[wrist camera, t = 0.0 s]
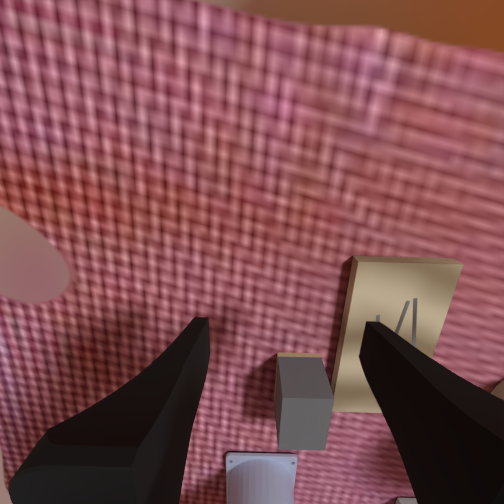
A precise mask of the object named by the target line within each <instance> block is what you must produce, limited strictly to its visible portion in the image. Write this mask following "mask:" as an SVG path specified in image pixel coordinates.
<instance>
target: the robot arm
mask: <svg viewBox="0 0 504 504" xmlns="http://www.w3.org/2000/svg"><path fill="white" fill-rule="evenodd" d="M209 356H210V343H209V321H208V318H206V317H195V318H194V319H193V320H192V321H191V322H190V323H189V324H188V326H187V327H186V328H185V329H184V330H183V332H182V333H181V334H180V335H179V336H178V337H177V338H176V339H175V341H174V342H173V343H172V344H171V345H170V346H169V347H168V348H167V349H166V350H165V351H164V352H163V353H162V354H161V355H160V356H159V357H158V358H157V359H156V360H155V361H154V362H152V363H151V364H150V365H149V366H148V367H147V368H146V369H145V370H143V371H142V372H141V373H140V374H138V375H137V376H136V377H135V378H133V379H132V380H131V381H129V382H128V383H126V384H125V385H124V386H122V387H121V388H119V389H118V390H116V391H115V392H114V393H112V394H111V395H109V396H107V397H106V398H104V399H103V400H101V401H99V402H98V403H96V404H94V405H93V406H91V407H89V408H88V409H86V410H84V411H82V412H81V413H79V414H77V415H75V416H73V417H71V418H69V419H67V420H65V421H63V422H61V423H59V424H58V425H56V426H54V427H51V428H49V429H48V430H47V432H46V433H45V434H44V435H43V437H42V438H41V439H40V440H39V441H38V443H37V444H36V446H35V447H34V448H33V450H32V451H31V453H30V454H29V455H28V457H27V458H26V460H25V461H24V462H23V464H22V465H21V466H20V468H19V469H18V471H17V472H16V473H15V475H14V476H13V478H12V479H11V480H10V483H9V488H8V490H9V495H10V498H11V501H12V503H13V504H179V500H180V493H181V487H182V481H183V476H184V470H185V464H186V458H187V452H188V447H189V441H190V436H191V431H192V427H193V423H194V419H195V416H196V412H197V408H198V405H199V401H200V397H201V394H202V390H203V386H204V383H205V379H206V375H207V369H208V363H209ZM359 360H360V363H361V366H362V369H363V372H364V375H365V378H366V380H367V382H368V384H369V386H370V388H371V391H372V393H373V395H374V397H375V399H376V401H377V403H378V405H379V407H380V409H381V411H382V413H383V415H384V417H385V419H386V422H387V424H388V426H389V428H390V430H391V432H392V435H393V437H394V439H395V442H396V444H397V447H398V450H399V452H400V455H401V458H402V460H403V463H404V466H405V468H406V471H407V474H408V477H409V480H410V483H411V485H412V488H413V491H414V494H415V497H416V500H417V503H418V504H504V400H502V399H500V398H498V397H496V396H494V395H492V394H491V393H489V392H487V391H485V390H483V389H481V388H479V387H477V386H475V385H474V384H472V383H470V382H468V381H467V380H465V379H463V378H462V377H460V376H458V375H456V374H455V373H453V372H451V371H450V370H448V369H447V368H445V367H444V366H442V365H441V364H439V363H437V362H436V361H434V360H433V359H431V358H430V357H428V356H427V355H426V354H424V353H423V352H421V351H420V350H418V349H417V348H416V347H414V346H413V345H412V344H410V343H409V342H407V341H406V340H405V339H403V338H402V337H401V336H399V335H398V334H397V333H395V332H394V331H392V330H391V329H390V328H388V327H387V326H385V325H384V324H382V323H381V322H375V321H366V324H365V329H364V334H363V338H362V343H361V348H360V353H359ZM296 467H297V456H296V455H295V454H278V453H236V452H229V453H227V454H226V494H227V504H294V496H293V490H294V482H295V475H296Z"/></svg>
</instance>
